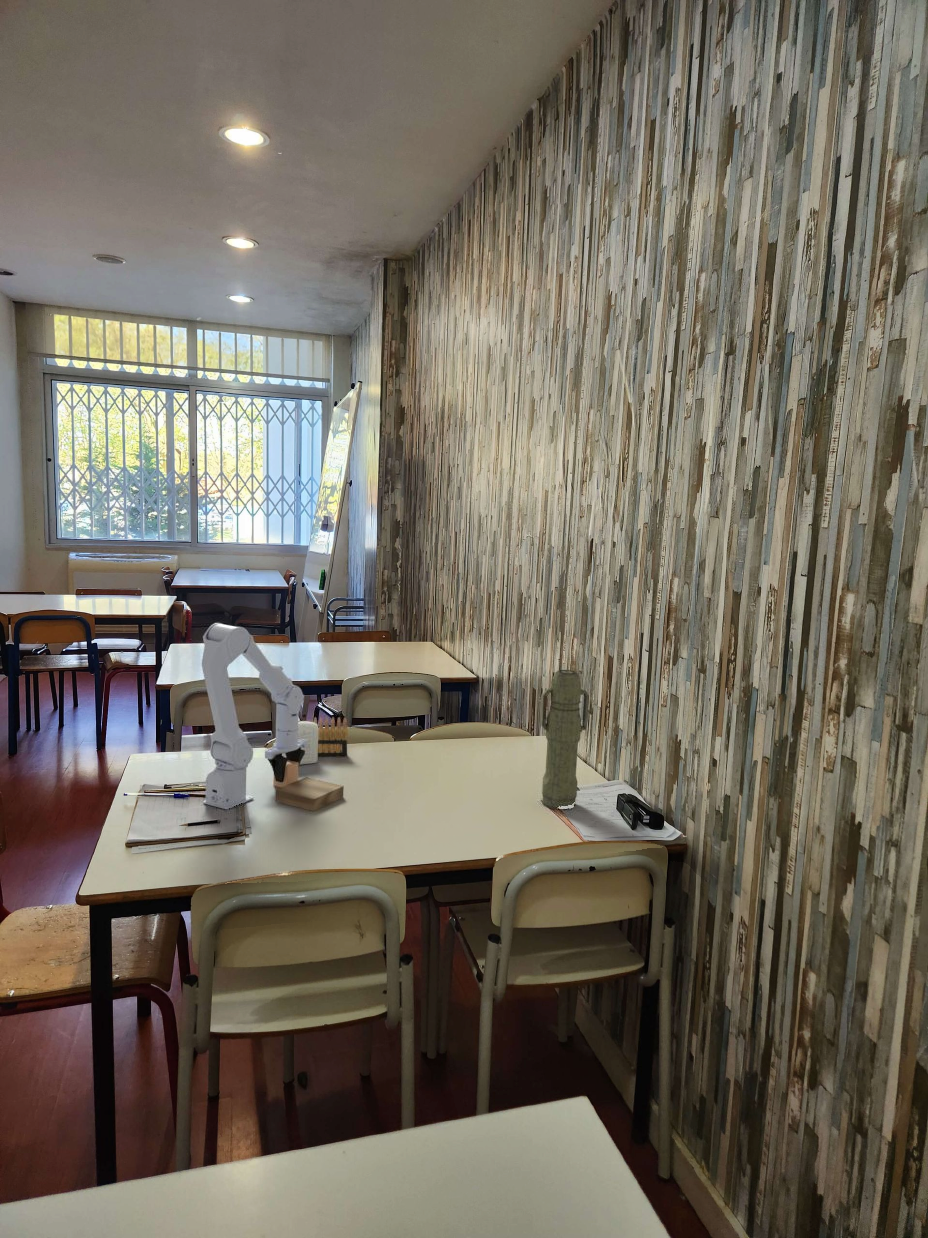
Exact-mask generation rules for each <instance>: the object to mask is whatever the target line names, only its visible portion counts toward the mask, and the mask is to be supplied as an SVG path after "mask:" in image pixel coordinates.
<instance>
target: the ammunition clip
mask: <svg viewBox="0 0 928 1238" xmlns="http://www.w3.org/2000/svg"><path fill="white" fill-rule="evenodd" d="M323 720H324V719H323V717H322V716H320V718H319V722H318V720H317V717H316V716H315V717H314V718H313V721H312V722H314V723H316V724H317V725H318V730H319V731H318V757H317V758H323V757H325V758H327V757H328V758H329V757H330V758H332V757H333V758H335V757H337V758H339V757H340V758H342V757H343V758H345V757H346V758H347V757H348V723H347V721H348V720H347V717H346V716H344V718H343V722H342V721H341V720H342V719H341V717H340V716H339V717H338V718H337V722H336V721H335V717H334V716H332V718H331V721H330V720H329V717H328V716H326V717H325V721H323Z"/></svg>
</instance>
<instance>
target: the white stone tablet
mask: <svg viewBox="0 0 928 1238" xmlns="http://www.w3.org/2000/svg"><path fill="white" fill-rule="evenodd" d="M318 731H319V724H318V723H317V724H316V723H314V722H313V721H309V720H307V721H306V720H302V721H299V720H298V740H299V739H305V740H307V747H302V748H301V749H302V750H305V755H304V756H303V758H302V760H301V762H300V764H299V766H301V765H309V764H316V763H317V762H318V758H319V757H318ZM282 756H283V757H286V754H285V753H284V754H282Z"/></svg>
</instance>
